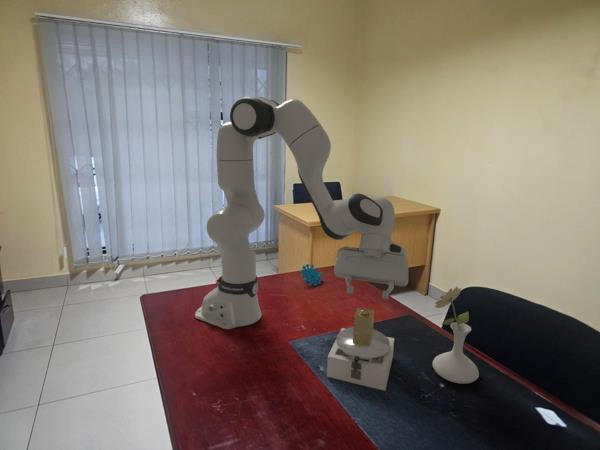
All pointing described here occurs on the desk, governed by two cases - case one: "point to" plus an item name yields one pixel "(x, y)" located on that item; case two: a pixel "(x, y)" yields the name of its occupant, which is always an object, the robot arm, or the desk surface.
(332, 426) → the desk surface
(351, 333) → the scale pan
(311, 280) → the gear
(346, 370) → the base
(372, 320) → the brass weight
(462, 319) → the flower in vase
